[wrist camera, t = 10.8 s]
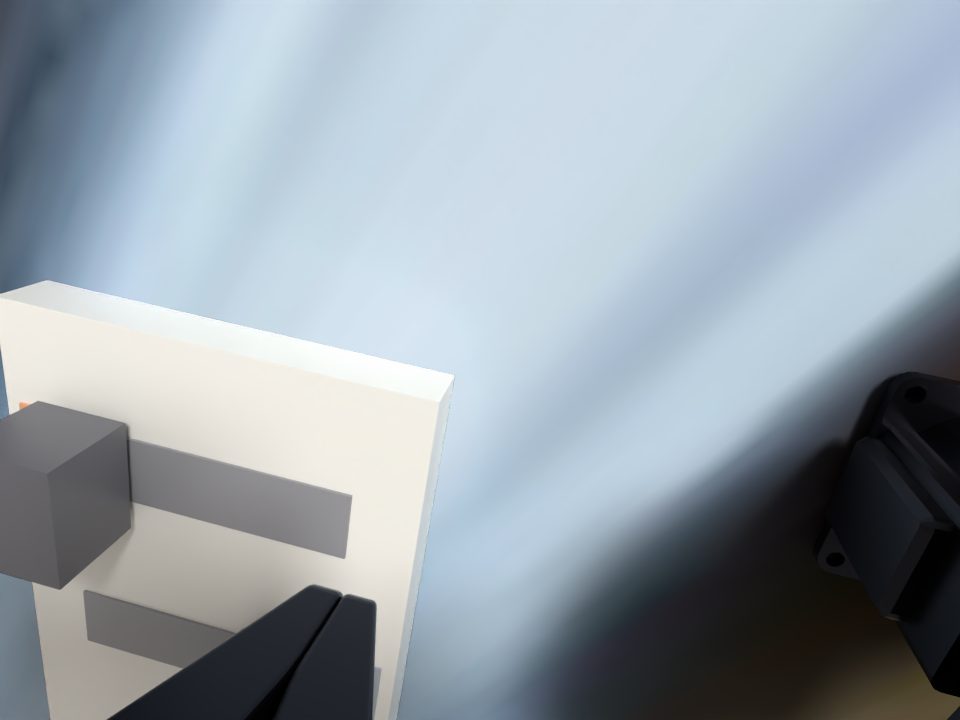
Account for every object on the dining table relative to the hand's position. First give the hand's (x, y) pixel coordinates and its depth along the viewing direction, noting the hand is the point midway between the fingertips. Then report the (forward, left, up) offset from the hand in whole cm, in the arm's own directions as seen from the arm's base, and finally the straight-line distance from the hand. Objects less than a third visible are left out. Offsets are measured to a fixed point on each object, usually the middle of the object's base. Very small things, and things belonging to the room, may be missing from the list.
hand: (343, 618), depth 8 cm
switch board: (+8, +14, -12) cm, 20 cm away
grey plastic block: (+12, +7, -10) cm, 17 cm away
